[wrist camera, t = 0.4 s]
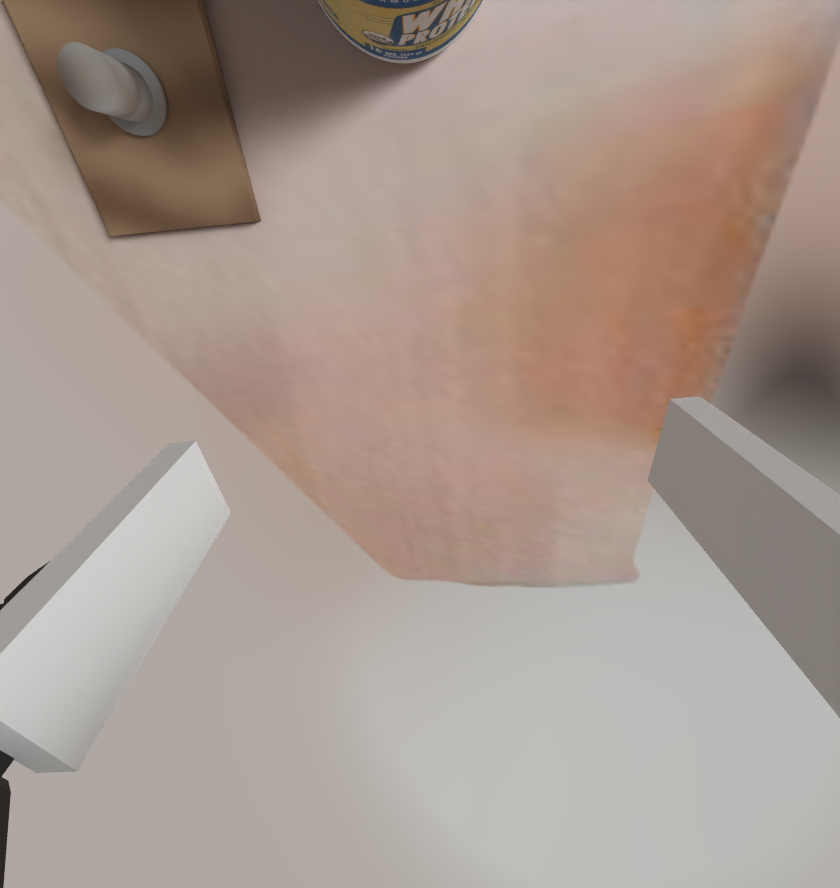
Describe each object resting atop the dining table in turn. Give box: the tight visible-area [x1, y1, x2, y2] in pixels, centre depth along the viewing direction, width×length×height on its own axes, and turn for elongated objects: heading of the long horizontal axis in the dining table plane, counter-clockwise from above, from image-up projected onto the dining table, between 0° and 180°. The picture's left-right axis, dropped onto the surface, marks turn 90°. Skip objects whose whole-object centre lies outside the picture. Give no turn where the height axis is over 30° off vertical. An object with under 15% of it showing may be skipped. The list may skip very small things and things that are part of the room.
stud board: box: [3, 0, 261, 236], centre depth 25 cm, size 16×12×6 cm
